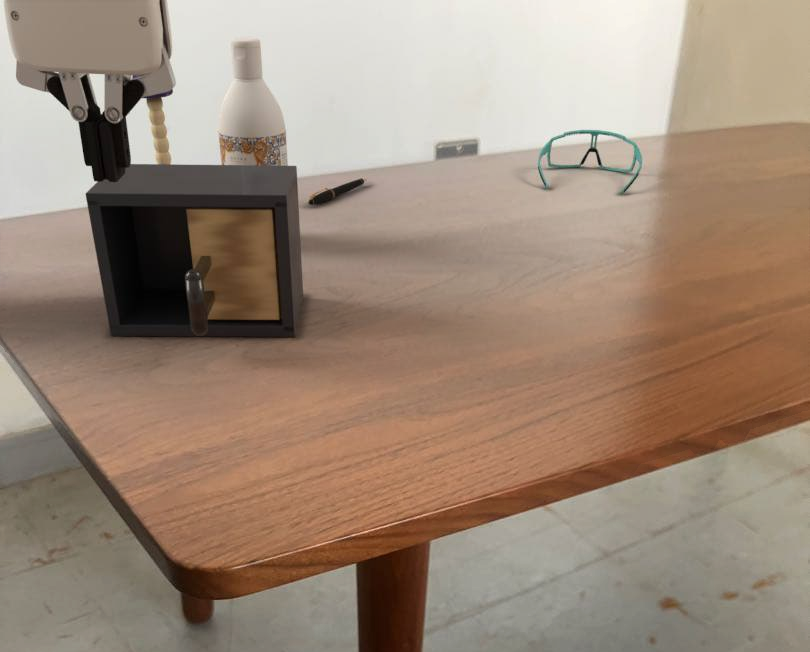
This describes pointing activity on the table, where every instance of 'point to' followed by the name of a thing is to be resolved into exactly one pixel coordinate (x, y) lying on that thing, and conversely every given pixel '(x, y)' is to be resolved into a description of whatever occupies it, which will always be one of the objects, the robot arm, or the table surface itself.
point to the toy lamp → (158, 126)
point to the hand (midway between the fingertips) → (110, 176)
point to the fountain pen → (334, 192)
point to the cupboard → (185, 243)
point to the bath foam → (250, 113)
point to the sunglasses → (592, 149)
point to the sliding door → (231, 265)
